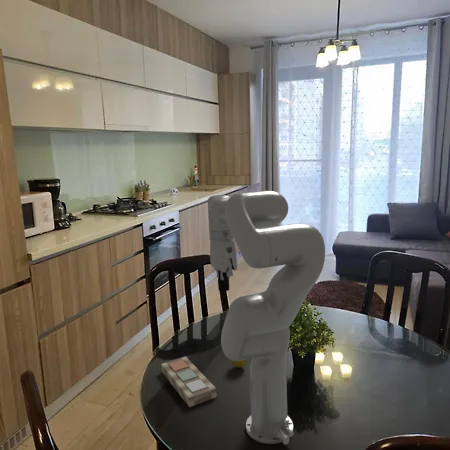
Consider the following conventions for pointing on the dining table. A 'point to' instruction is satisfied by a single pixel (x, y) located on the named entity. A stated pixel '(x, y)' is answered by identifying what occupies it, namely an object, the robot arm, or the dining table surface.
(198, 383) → the offwhite button
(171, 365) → the terracotta button
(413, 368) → the dining table surface
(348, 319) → the dining table surface
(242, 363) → the lemon
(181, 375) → the sage button
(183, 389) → the button board
